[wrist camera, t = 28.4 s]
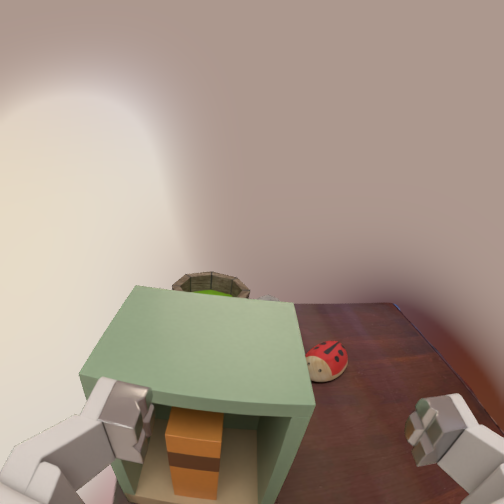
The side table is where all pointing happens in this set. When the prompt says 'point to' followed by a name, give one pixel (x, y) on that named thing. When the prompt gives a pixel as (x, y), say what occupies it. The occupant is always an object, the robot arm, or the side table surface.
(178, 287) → the mug
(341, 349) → the ladybug figurine
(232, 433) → the cubby
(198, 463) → the granola carton
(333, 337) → the side table surface
